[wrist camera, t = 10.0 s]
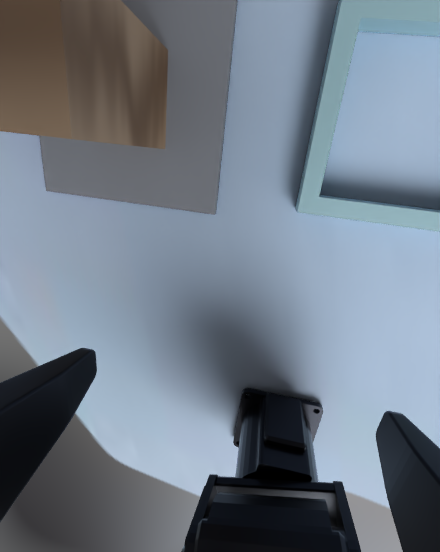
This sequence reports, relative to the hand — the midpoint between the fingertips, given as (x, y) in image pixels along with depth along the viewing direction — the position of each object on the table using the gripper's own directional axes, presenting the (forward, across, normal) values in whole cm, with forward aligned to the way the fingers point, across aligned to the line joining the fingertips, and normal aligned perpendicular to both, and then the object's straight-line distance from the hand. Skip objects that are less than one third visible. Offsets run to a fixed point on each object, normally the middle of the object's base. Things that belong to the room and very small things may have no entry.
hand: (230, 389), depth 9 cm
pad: (+12, +9, -9) cm, 17 cm away
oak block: (+12, +9, -9) cm, 17 cm away
